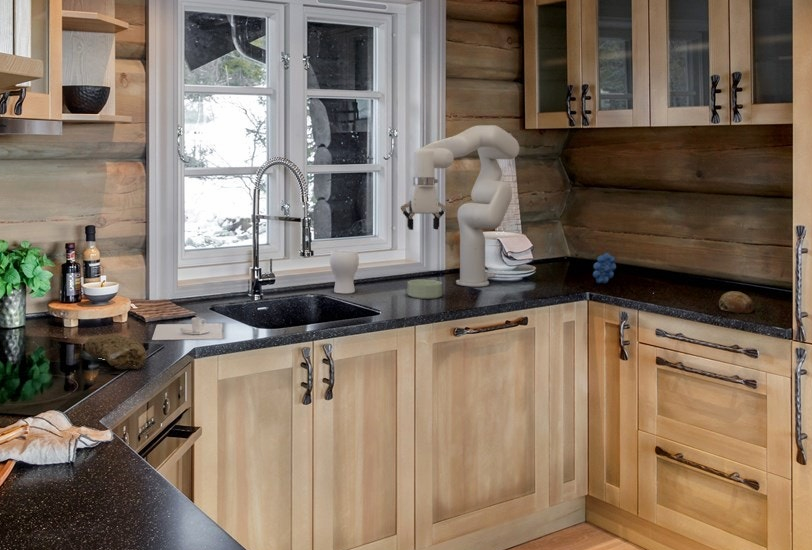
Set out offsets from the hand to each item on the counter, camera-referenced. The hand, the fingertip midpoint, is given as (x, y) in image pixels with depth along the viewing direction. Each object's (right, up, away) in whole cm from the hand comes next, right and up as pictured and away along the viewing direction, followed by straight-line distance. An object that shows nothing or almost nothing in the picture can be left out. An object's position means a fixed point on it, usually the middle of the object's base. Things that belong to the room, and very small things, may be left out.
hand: (423, 229), depth 306 cm
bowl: (0, -24, -4) cm, 24 cm away
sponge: (-94, -27, -92) cm, 134 cm away
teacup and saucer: (-79, -26, -58) cm, 101 cm away
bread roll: (+98, -24, -30) cm, 105 cm away
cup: (-28, -24, +5) cm, 37 cm away
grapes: (+74, -23, +21) cm, 80 cm away
